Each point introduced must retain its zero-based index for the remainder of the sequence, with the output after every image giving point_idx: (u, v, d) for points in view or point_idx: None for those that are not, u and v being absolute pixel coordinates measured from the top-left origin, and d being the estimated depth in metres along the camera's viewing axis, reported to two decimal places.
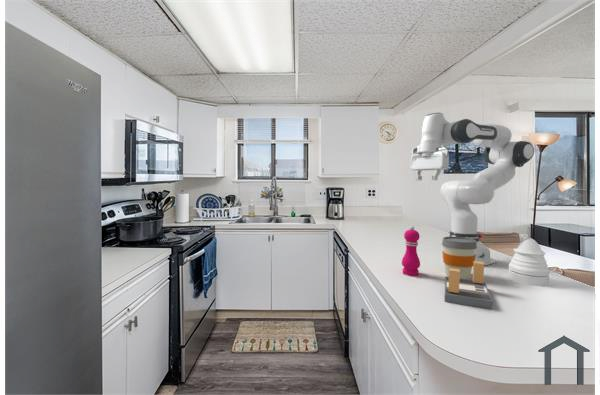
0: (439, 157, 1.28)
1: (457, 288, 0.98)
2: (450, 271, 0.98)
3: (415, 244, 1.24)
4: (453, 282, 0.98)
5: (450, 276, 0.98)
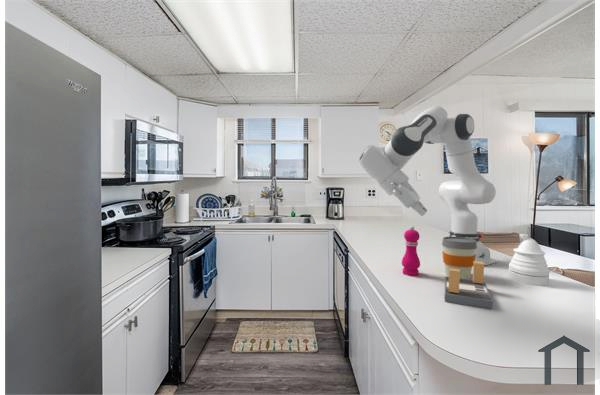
0: None
1: (457, 288, 0.98)
2: (450, 271, 0.98)
3: (415, 244, 1.24)
4: (453, 282, 0.98)
5: (450, 276, 0.98)
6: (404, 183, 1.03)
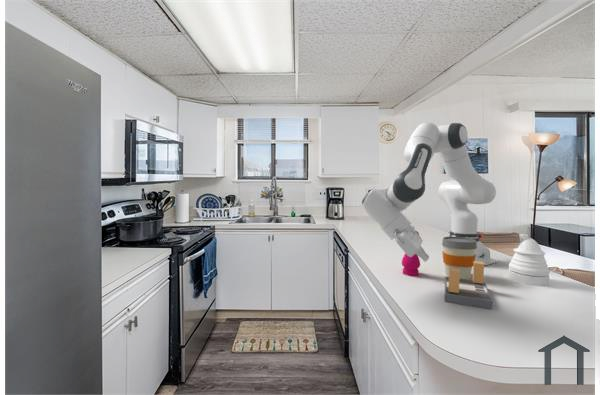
0: None
1: (457, 288, 0.98)
2: (450, 271, 0.98)
3: None
4: (453, 282, 0.98)
5: (450, 276, 0.98)
6: (406, 229, 1.03)
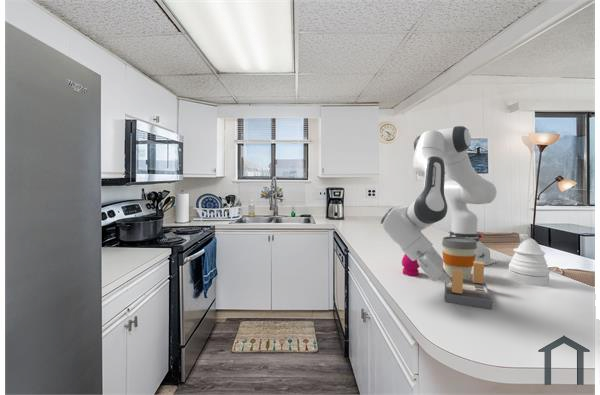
0: None
1: (460, 288, 0.97)
2: (453, 271, 0.98)
3: None
4: (456, 283, 0.98)
5: (453, 276, 0.98)
6: (428, 251, 1.00)
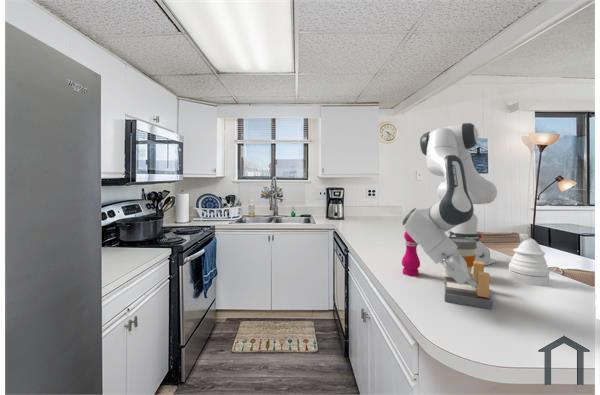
0: None
1: (487, 292, 0.94)
2: (479, 275, 0.95)
3: (415, 244, 1.24)
4: (482, 286, 0.95)
5: (479, 280, 0.95)
6: (453, 253, 0.97)
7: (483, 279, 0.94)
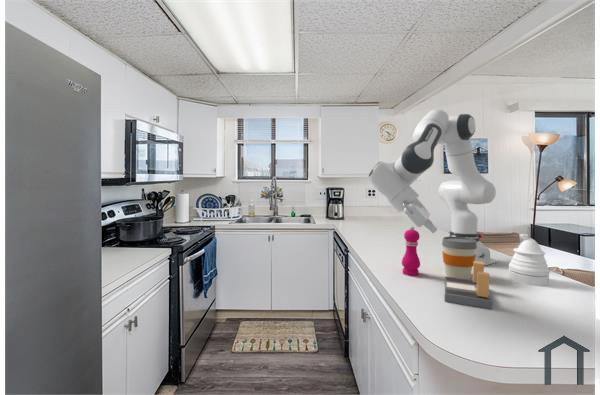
0: None
1: (486, 292, 0.94)
2: (479, 275, 0.95)
3: (415, 244, 1.24)
4: (482, 286, 0.95)
5: (479, 280, 0.95)
6: (414, 201, 1.02)
7: (483, 279, 0.95)
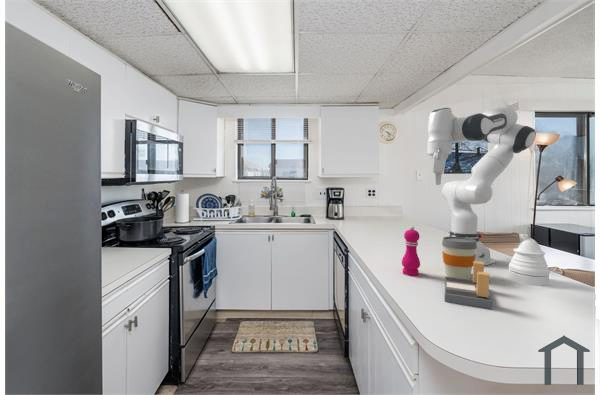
0: (433, 160, 1.14)
1: (486, 292, 0.94)
2: (479, 275, 0.95)
3: (415, 244, 1.24)
4: (482, 286, 0.95)
5: (479, 280, 0.95)
6: (445, 154, 1.18)
7: (483, 279, 0.95)
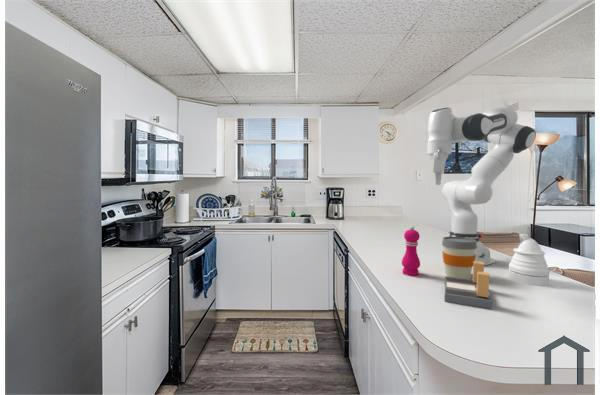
0: (433, 159, 1.14)
1: (486, 292, 0.94)
2: (479, 275, 0.95)
3: (415, 244, 1.24)
4: (482, 286, 0.95)
5: (479, 280, 0.95)
6: (445, 154, 1.18)
7: (483, 279, 0.95)
